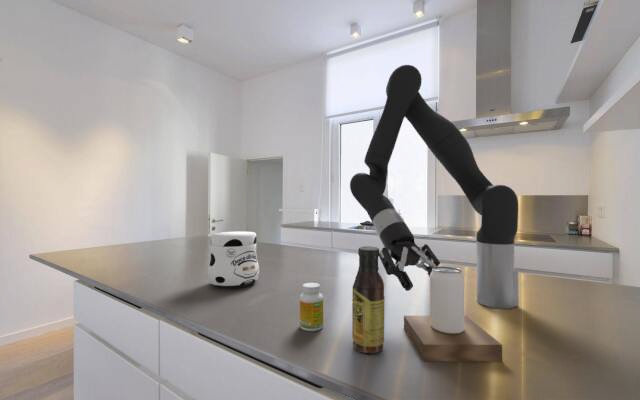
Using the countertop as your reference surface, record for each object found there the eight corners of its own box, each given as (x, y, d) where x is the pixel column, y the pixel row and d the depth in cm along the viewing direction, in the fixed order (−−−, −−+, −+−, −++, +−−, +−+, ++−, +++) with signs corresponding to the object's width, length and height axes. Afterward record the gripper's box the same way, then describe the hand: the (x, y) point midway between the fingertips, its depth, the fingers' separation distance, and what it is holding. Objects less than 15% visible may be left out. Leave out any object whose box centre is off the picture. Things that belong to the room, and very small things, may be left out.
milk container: (252, 291, 98) (252, 236, 98) (199, 292, 98) (199, 236, 98) (263, 278, 115) (263, 231, 115) (218, 278, 115) (218, 231, 115)
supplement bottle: (315, 333, 66) (314, 289, 66) (295, 328, 69) (295, 285, 69) (327, 325, 71) (327, 283, 71) (308, 320, 74) (308, 280, 74)
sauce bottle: (349, 341, 63) (349, 245, 63) (379, 339, 63) (378, 244, 63) (356, 357, 56) (355, 250, 56) (389, 355, 57) (388, 249, 57)
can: (468, 336, 58) (467, 273, 58) (432, 333, 59) (432, 272, 59) (460, 323, 64) (459, 266, 64) (427, 320, 65) (427, 265, 66)
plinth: (466, 328, 68) (466, 315, 68) (502, 361, 54) (502, 344, 54) (403, 328, 69) (403, 315, 69) (424, 361, 55) (423, 344, 55)
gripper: (375, 221, 72) (408, 281, 62) (421, 219, 78) (458, 274, 68) (363, 241, 77) (391, 299, 66) (407, 238, 83) (440, 291, 72)
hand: (425, 286), depth 67 cm, fingers open, 8 cm apart
